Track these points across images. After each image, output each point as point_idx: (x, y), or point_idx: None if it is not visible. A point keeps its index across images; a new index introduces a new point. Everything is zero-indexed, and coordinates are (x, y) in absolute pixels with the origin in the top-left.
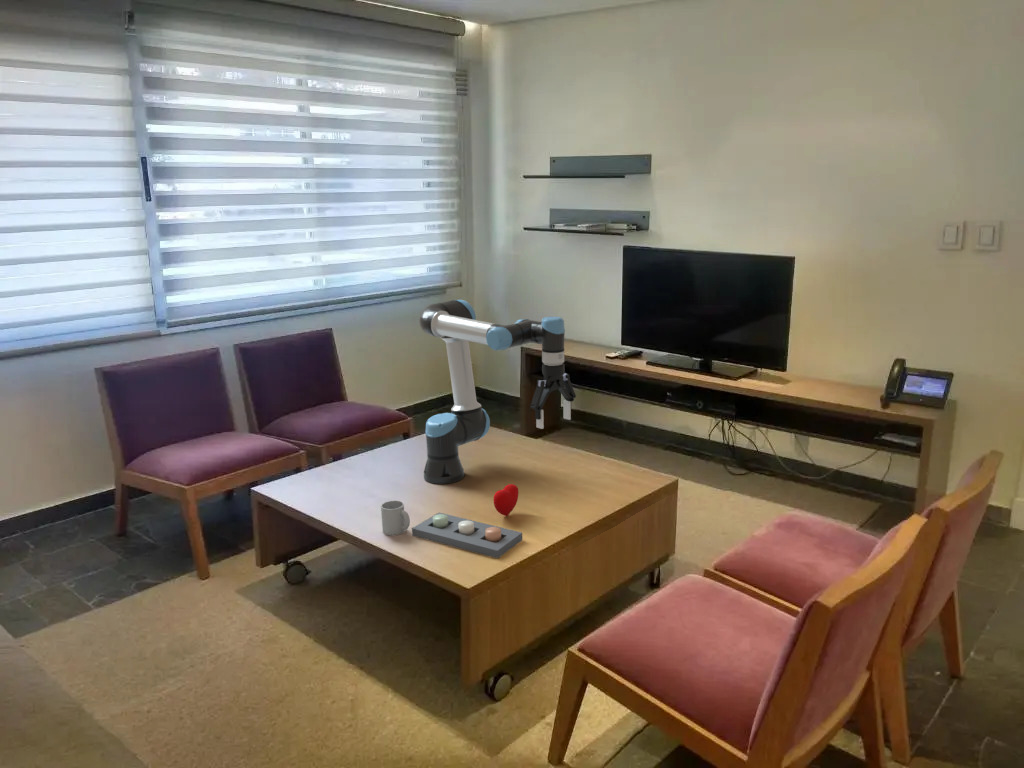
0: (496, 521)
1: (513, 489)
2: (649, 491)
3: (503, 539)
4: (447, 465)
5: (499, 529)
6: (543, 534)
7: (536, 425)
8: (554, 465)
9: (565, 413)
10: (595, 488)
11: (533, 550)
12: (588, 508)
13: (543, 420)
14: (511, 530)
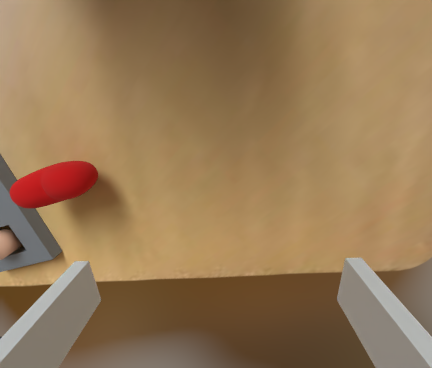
0: None
1: (61, 198)
2: None
3: (16, 256)
4: None
5: (3, 253)
6: (99, 258)
7: (65, 272)
8: (378, 5)
9: (367, 310)
10: (301, 196)
11: None
12: (217, 244)
13: (64, 356)
14: (41, 243)
